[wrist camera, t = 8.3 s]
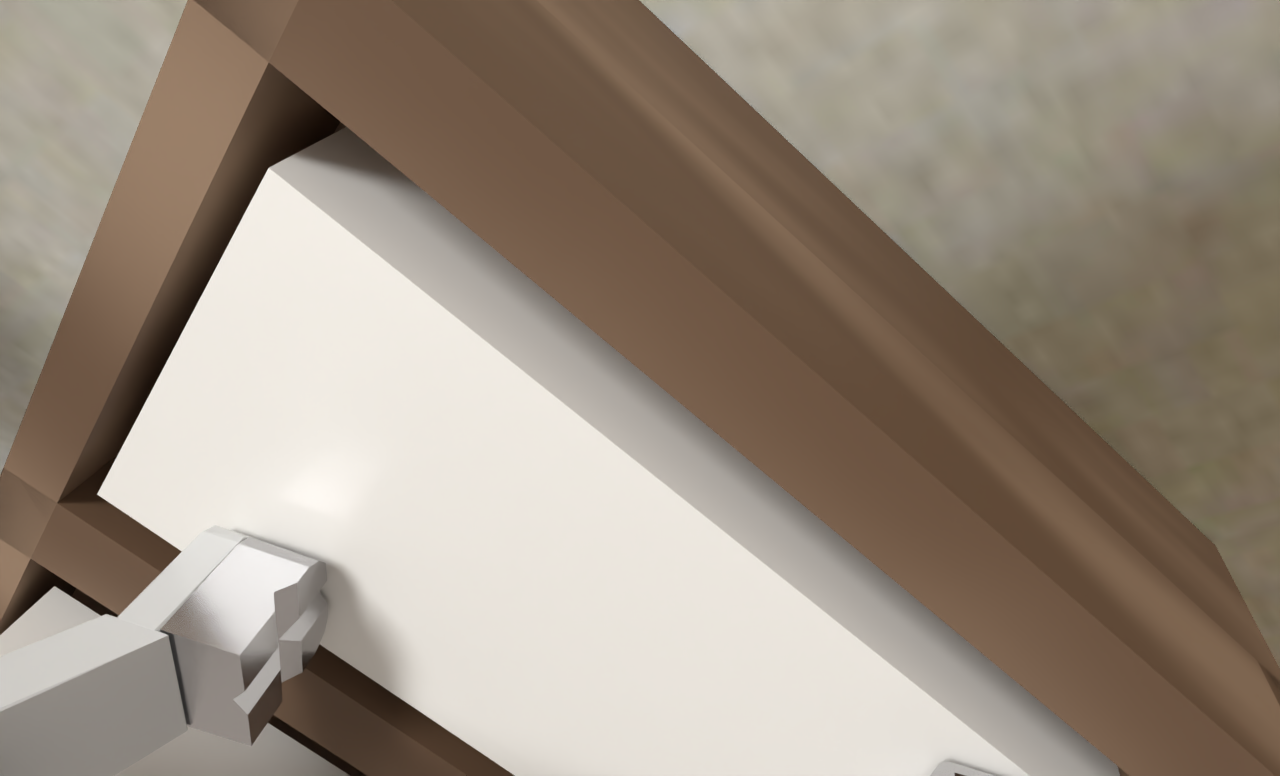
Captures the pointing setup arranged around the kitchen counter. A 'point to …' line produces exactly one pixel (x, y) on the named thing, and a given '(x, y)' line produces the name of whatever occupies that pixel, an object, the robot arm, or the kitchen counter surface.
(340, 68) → the brown boxy piece
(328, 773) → the switch
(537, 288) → the switch
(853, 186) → the kitchen counter surface
